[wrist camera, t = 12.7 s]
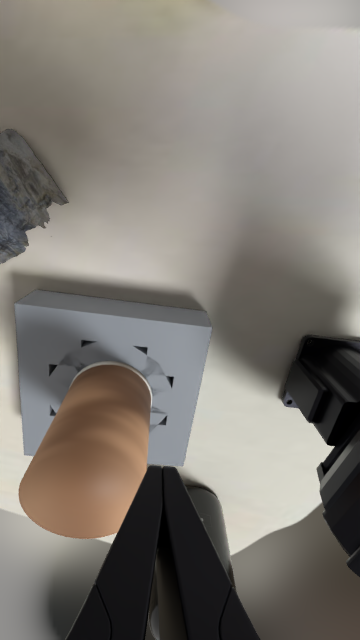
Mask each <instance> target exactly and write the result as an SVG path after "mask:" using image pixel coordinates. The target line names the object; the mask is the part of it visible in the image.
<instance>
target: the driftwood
mask: <svg viewBox="0 0 360 640" xmlns="http://www.w3.org/2000/svg"><path fill="white" fill-rule="evenodd" d="M52 202H55V203H58V204H60V205H64V204H67V203H69V202H67V200H66V197H64V196H63V194H62V192H61V191H60V190H59V188H58V186H57V185H56V184H55V183H54V180H52V178H51V176H50V175H49V174H48V173H47V172H46V169H45V168H44V167H43V164H41V162H40V161H39V160H38V159H37V158H36V157H35V155H34V153H33V151H32V150H31V149H30V147H29V146H28V144H27V143H26V142H25V140H24V139H23V138H22V136H20V135H19V134H18V133H17V132H16V131H14V130H12V129H6V130H5V131H3V132H2V133H0V264H1V263H4V262H6V261H7V260H8V259H10V258H12V257H15V256H18V255H19V254H21V253H23V252H25V250H26V248H25V247H24V246H26V247H27V246H29V243H28V238H27V235H26V233H25V232H26V231H27V230H30V229H32V228H35V227H36V226H37V225H39V226H41V227H42V228H46V227H45V226H44V222H46V223H48V221H50V218H49V214H48V212H47V210H46V208H48V207H49V206H50V205H51V203H52Z"/></svg>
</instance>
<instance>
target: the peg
mask: <svg viewBox="0 0 360 640" xmlns="http://www.w3.org/2000/svg"><path fill="white" fill-rule="evenodd" d="M151 405H152V390H151V386H150V384H149V382H148V380H147V379H146V378H145V376H144V375H143V374H142V373H141V372H140V371H138V370H137V369H136V368H134V367H132V366H130V365H128V364H125V363H122V362H117V361H101V362H96V363H93V364H91V365H88V366H86V367H85V368H83V369H82V370H81V371H79V372H78V374H77V375H76V376H75V377H74V379H73V381H72V383H71V385H70V387H69V390H68V392H67V394H66V396H65V398H64V400H63V402H62V404H61V406H60V407H59V409H58V411H57V413H56V415H55V417H54V419H53V421H52V423H51V425H50V427H49V429H48V430H47V432H46V434H45V436H44V438H43V440H42V442H41V444H40V446H39V448H38V450H37V452H36V454H35V455H34V457H33V459H32V461H31V463H30V465H29V467H28V469H27V471H26V473H25V475H24V477H23V479H22V481H21V483H20V486H19V501H20V504H21V506H22V508H23V510H24V512H25V513H26V514H27V516H28V517H29V518H30V519H31V520H32V521H34V522H35V523H36V524H37V525H39V526H40V527H42V528H44V529H46V530H48V531H50V532H52V533H55V534H58V535H62V536H65V537H71V538H80V539H86V538H87V539H89V538H99V537H105V536H108V535H112V534H114V533H117V532H118V531H119V528H120V526H121V524H122V522H123V520H124V518H125V516H126V514H127V511H128V509H129V507H130V505H131V503H132V501H133V499H134V497H135V494H136V492H137V490H138V488H139V486H140V484H141V482H142V480H143V477H144V475H145V473H146V470H147V456H148V441H149V426H150V412H151Z"/></svg>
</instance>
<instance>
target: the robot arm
mask: <svg viewBox="0 0 360 640" xmlns="http://www.w3.org/2000/svg"><path fill="white" fill-rule="evenodd" d="M309 340H311V342H310V343H309V344H307V342H308V341H309ZM288 400H290V401H288ZM287 401H288V402H287ZM282 402H283V404H284V405H285V406H286V407H293V408H299V409H300V411H301V412H302V414H303V415H304V417H305V418H306V420H307V421H308V422H309V423H313V424H314V426H315V427H316V429H317V430H318V432H319V433H320V435H321V436H322V438H323V439H324V441H325V442H326V444H327V445H329V446H335V447H334V448H333V450H332V451H331V453H330V454H329V455H328V457H327V458H326V459H325V461H324V462H321V463H320V465H319V466H318V467H317V473H318V477H319V481H320V495H321V498H322V502H323V505H324V508H325V510H324V511H323V517H324V519H325V521H326V523H327V525H328V526H329V528H330V530H331V532H332V533H333V535H334V536H335V538H336V539H337V541H338V542H339V543H340V545H341V546H342V548H343V549H344V550H345V552H346V553H347V554H348V555H349V556H350V558H349V559H348V560H347V561H346V563H347V565H348V567H349V568H350V569H351V570H352V571H353V572H354V573H355V574H357V575H358V576H359V577H360V341H356V340H347V339H339V338H331V337H323V336H315V335H307V336H305V337H304V338H303V339H302V341H301V344H300V347H299V350H298V353H297V356H296V359H295V360H294V361H293V364H292V367H291V370H290V373H289V375H288V378H287V381H286V384H285V391H284V394H283V397H282ZM155 562H156V571H157V592H158V613H159V634H160V640H260V638H259V636H258V635H257V633H256V631H255V629H254V627H253V625H252V623H251V621H250V619H249V617H248V615H247V613H246V611H245V610H244V607H243V605H242V603H241V601H240V599H239V597H238V595H237V593H236V591H235V589H234V588H233V587H232V583H231V581H230V579H229V577H228V575H227V572H226V570H225V568H224V566H223V564H222V562H221V560H220V558H219V556H218V554H217V552H216V550H215V548H214V545H213V543H212V541H211V539H210V537H209V535H208V533H207V531H206V529H205V527H204V525H203V523H202V521H201V519H200V516H199V514H198V512H197V510H196V508H195V506H194V504H193V502H192V500H191V498H190V496H189V494H188V492H187V490H186V487H185V485H184V483H183V481H182V479H181V477H180V475H179V473H178V471H177V469H176V468H175V467H168V466H164V467H163V468H162V467H161V466H153V465H150V466H149V467H148V469H147V471H146V473H145V475H144V477H143V480H142V482H141V484H140V486H139V488H138V490H137V492H136V494H135V497H134V499H133V501H132V503H131V505H130V507H129V509H128V511H127V514H126V516H125V518H124V520H123V522H122V524H121V526H120V528H119V531H118V533H117V535H116V537H115V539H114V541H113V543H112V545H111V547H110V550H109V552H108V554H107V556H106V558H105V560H104V563H103V565H102V567H101V569H100V571H99V573H98V575H97V577H96V579H95V583H94V585H92V588H91V590H90V592H89V594H88V596H87V598H86V600H85V602H84V604H83V606H82V608H81V610H80V612H79V614H78V616H77V618H76V620H75V622H74V624H73V626H72V628H71V630H70V632H69V634H68V636H67V637H66V639H65V640H145V634H146V627H147V620H148V613H149V605H150V598H151V591H152V584H153V577H154V569H155Z"/></svg>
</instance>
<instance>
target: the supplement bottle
mask: <svg viewBox="0 0 360 640" xmlns="http://www.w3.org/2000/svg"><path fill="white" fill-rule="evenodd" d="M186 490H187V492H188V494H189V496H190V498H191V500H192V502H193V504H194V506H195V508H196V510H197V512H198V514H199V516H200V519H201V521H202V523H203V525H204V527H205V529H206V531H207V533H208V535H209V537H210V539H211V541H212V543H213V545H214V548H215V550H216V552H217V554H218V556H219V558H220V560H221V562H222V564H223V566H224V568H225V570H226V572H227V575H228V577H229V579H230V581H231V583H232V587H233V588H234V589H235V591H236V586H235V580H234V574H233V569H232V563H231V557H230V551H229V545H228V539H227V533H226V528H225V522H224V517H223V511H222V507H221V504H220V502H219V500H218V499H217V497H216V496H215V495H213V494H212V493H211V492H209V491H207V490H205V489H203V488H199V487H191V486H189V487H186ZM236 593H237V592H236ZM149 625H150V628H151V631H152V634H153V636H154V638H155V639H156V640H160V634H159V613H158V592H157V571H156V562H155V569H154V577H153V584H152V591H151V598H150V605H149Z"/></svg>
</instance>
